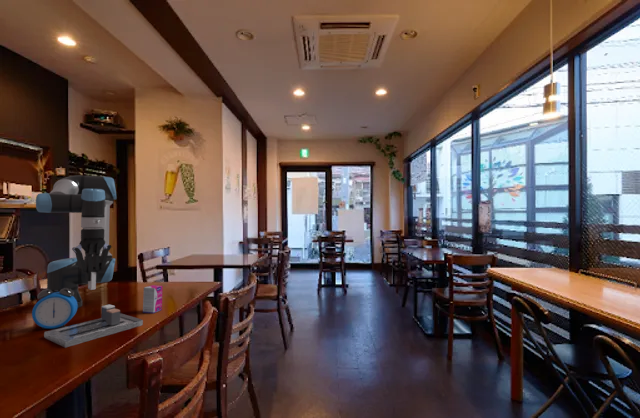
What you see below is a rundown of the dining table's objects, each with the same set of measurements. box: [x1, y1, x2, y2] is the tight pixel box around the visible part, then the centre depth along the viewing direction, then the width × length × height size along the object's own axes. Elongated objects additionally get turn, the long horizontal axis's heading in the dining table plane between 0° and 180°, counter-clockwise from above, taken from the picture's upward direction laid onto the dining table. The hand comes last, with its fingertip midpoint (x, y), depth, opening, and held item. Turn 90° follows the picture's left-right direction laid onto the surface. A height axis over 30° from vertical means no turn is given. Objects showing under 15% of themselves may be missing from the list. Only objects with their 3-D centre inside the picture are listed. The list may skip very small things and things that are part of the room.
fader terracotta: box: [106, 307, 121, 326], centre depth 123 cm, size 4×3×5 cm
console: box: [43, 312, 144, 349], centre depth 122 cm, size 17×26×2 cm, turn 149°
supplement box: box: [142, 284, 163, 315], centre depth 148 cm, size 6×6×12 cm
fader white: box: [100, 304, 116, 320], centre depth 129 cm, size 4×3×5 cm
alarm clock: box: [31, 288, 79, 330], centre depth 127 cm, size 13×6×15 cm, turn 115°
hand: (91, 288), depth 125 cm, fingers closed
